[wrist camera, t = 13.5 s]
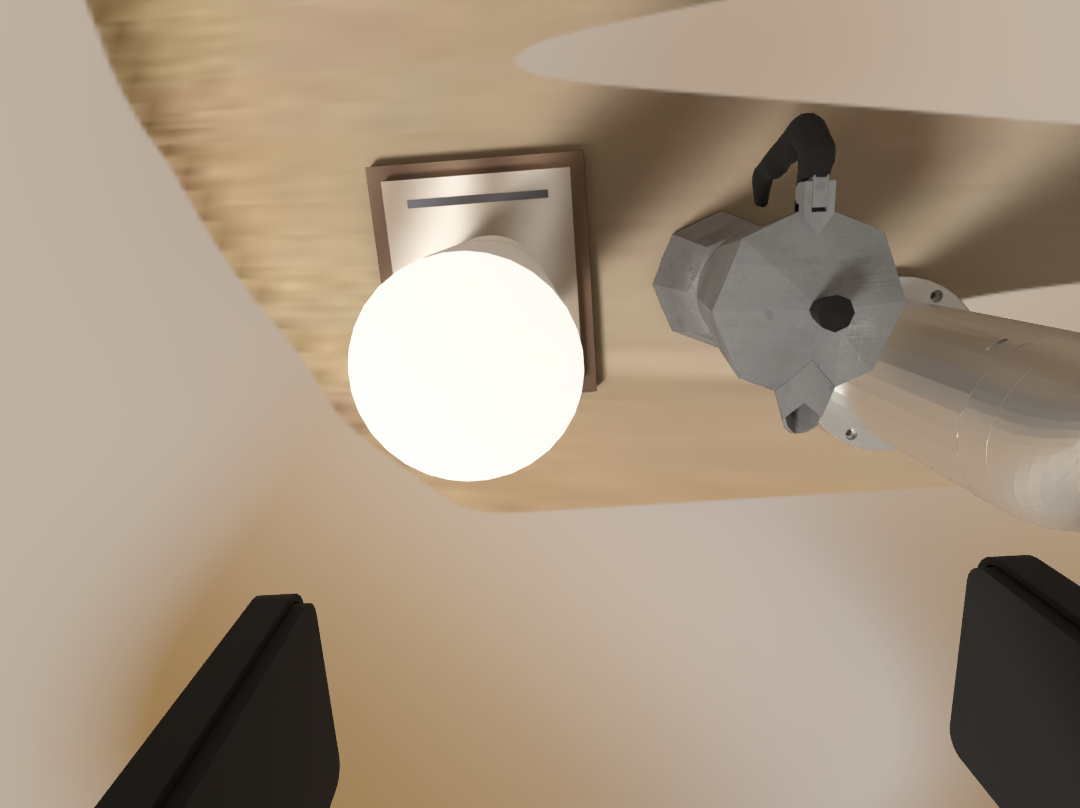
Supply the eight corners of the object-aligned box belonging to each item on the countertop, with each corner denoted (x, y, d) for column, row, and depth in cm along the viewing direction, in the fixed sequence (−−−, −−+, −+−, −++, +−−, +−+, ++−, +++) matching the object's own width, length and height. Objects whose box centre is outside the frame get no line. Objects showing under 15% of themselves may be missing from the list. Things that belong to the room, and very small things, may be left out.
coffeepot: (781, 369, 49) (929, 451, 31) (651, 377, 48) (727, 463, 31) (791, 142, 45) (968, 90, 27) (650, 148, 44) (737, 100, 27)
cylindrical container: (437, 234, 43) (340, 249, 19) (547, 235, 44) (588, 252, 20) (439, 343, 45) (354, 481, 21) (545, 344, 46) (581, 481, 21)
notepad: (581, 151, 44) (584, 148, 42) (595, 387, 48) (598, 394, 47) (368, 168, 44) (362, 166, 42) (400, 404, 48) (396, 411, 46)
